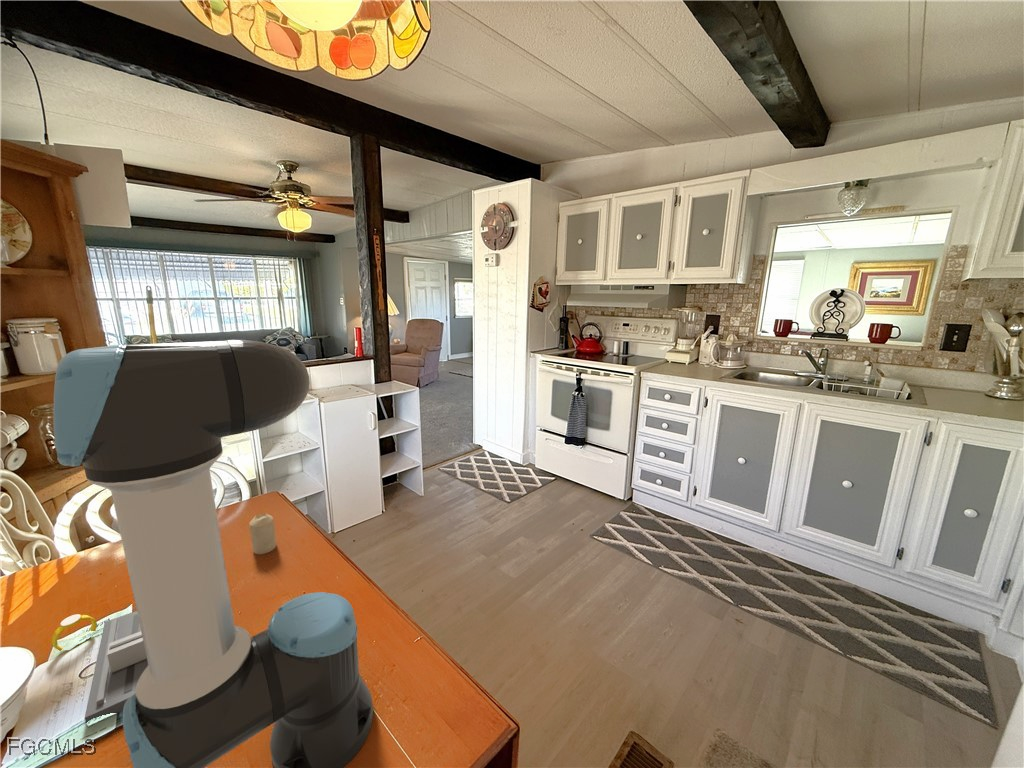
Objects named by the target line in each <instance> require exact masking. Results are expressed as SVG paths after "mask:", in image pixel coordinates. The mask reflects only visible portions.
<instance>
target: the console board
mask: <svg viewBox="0 0 1024 768" xmlns="http://www.w3.org/2000/svg"><path fill="white" fill-rule="evenodd" d="M140 631H141V628H140V623H139V618H138V614H137V610H135V611H132V612H129V613H126V614H124V615H123V614H122V615H120V616H118V617H116V618H115V617H114V618H112V619H109V620H107V621H104V624H103V629H102V633H101V637H100V644H99V647H98V653H97V657H96V662H95V667H94V671H93V676H92V681H91V685H90V691H89V695H88V699H87V700H88V701H87V704H86V709H85V714H84V721H85V724H86V723H87V722H88V721H89V720H91V719H93V718H96V717H99V716H102V715H106V714H110V713H117V714H119V713H123V708H124V704H125V702H126V701H127V700H128V699H129V698H130V697H131V696H133V695H134V694H135V693H136V685H137V683H138V680H139V678H140V676H141V674H142V673H143V672H144V670H145V669H146V668H147V666H148V660H147V659H144V660H142V661H139V662H137V663H135V664H132V665H130V666H127V667H125V668H122V669H120V670H118V671H115V672H113V673H111V669H110V665H109V661H108V657H107V653H108V647H109V643H111V642H114V641H117V640H119V639H122V638H125V637H127V636H130V635H132V634H135V633H138V632H140ZM118 712H119V713H118Z"/></svg>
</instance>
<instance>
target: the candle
mask: <svg viewBox="0 0 1024 768" xmlns="http://www.w3.org/2000/svg"><path fill="white" fill-rule="evenodd" d="M248 524H249V531H250V537H251V538H250V540H251V546H252V552H253V554H256V555H264V554H267V553H270V552H272V551H274V549H276V547H277V538H276V530H275V522H274V517H273V516H272V515H270V514H268V513H267V512H265V513H262V514H255V515H254V517H253V518H252V519H251V521H250V522H249V523H248Z"/></svg>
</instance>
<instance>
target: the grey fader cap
mask: <svg viewBox="0 0 1024 768" xmlns="http://www.w3.org/2000/svg"><path fill="white" fill-rule="evenodd" d="M107 657H108V661H109V665H110V669H111V673H113V672H115V671H118V670H120V669H122V668H125V667H127V666H130V665H132V664H135V663H137V662H139V661H142V660H144V659H147V656H146V651H145V646H144V642H143V637H142V632H141V631H140V632H138V633H135V634H132V635H130V636H127V637H125V638H122V639H119V640H117V641H114V642H111V643H109V647H108V653H107Z"/></svg>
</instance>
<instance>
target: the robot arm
mask: <svg viewBox="0 0 1024 768" xmlns="http://www.w3.org/2000/svg"><path fill="white" fill-rule="evenodd" d="M55 371H56V372H55V377H54V388H53V389H54V390H53V438H54V447H55V450H56V456H57V462H58V463H59V464H60V465H61V466H67V467H68V466H69V467H74V468H75V467H79V466H81V465H83V468H84V470H83V471H84V473H85V476H86V477H85V478H86V480H87V482H88V483H90V484H93V485H96V486H98V487H102V488H104V489H107V490H109V491H110V492H111V497H112V502H113V505H114V511H115V516H116V520H117V525H118V530H119V534H120V539H121V543H122V547H123V553H124V558H125V562H126V566H127V572H128V575H129V580H130V586H131V591H132V594H133V600H134V604H135V609H136V611H137V614H138V618H139V623H140V628H141V632H142V637H143V642H144V646H145V651H146V656H147V660H148V666H147V668H146V669H145V670H144V672H143V673H142V674H141V676H140V678H139V680H138V683H137V685H136V693H135V694H134V695H133V696H131V697H130V698H129V699H128V700H127V701H126V702H125V704H124V708H123V711H122V728H123V734H124V735H123V736H124V738H125V739H124V740H125V742H126V746H127V747H128V750H129V758H130V762H131V763H132V766H133V768H206V767H208V766H209V765H211V764H213V763H215V762H216V761H217V760H219V759H221V758H222V757H223V756H225V755H226V754H228V753H230V752H231V751H233V750H234V749H235V748H237V747H238V746H240V745H242V744H243V743H245V742H247V741H248V740H249V739H251V738H253V737H254V736H255V735H257V734H259V733H260V732H262V731H264V729H267V728H269V726H271V725H272V724H273V727H272V730H271V734H270V739H269V740H270V741H269V747H270V749H269V750H270V756H271V761H272V765H273V768H345V766H346V765H348V764H349V763H350V762H351V760H353V758H354V757H355V756H356V755H357V754H358V753H359V751H360V750H361V749H362V747H363V745H364V744H365V742H366V740H367V738H368V736H369V734H370V732H371V731H370V730H371V728H372V725H373V721H374V720H373V718H374V707H373V705H374V704H373V699H372V694H371V691H370V689H369V687H368V686H367V684H366V683H365V681H364V679H363V677H362V676H361V674H360V667H359V652H358V649H359V648H358V637H357V636H358V625H357V622H356V618H355V613H354V608H353V606H352V605H351V603H350V602H349V600H348V599H346V598H345V597H343V596H341V595H339V594H337V593H333V592H332V593H330V592H329V593H328V592H327V591H326V592H325V591H317V592H310V593H304V594H302V595H299V596H296V597H294V598H292V599H290V600H288V601H286V602H284V604H282V605H281V606H279V608H278V610H277V611H275V612H274V613H273V614H272V616H271V618H270V620H269V623H268V625H267V629H266V630H263V631H261V632H258V633H257V634H255V635H253V636H251V635H250V633H249V631H248V630H247V629H245V628H243V627H241V626H238V625H235V619H234V613H233V609H232V608H233V607H232V600H231V594H230V588H229V582H228V581H229V580H228V576H227V571H226V564H225V557H224V551H223V545H222V540H221V532H220V527H219V519H218V514H217V513H218V512H217V508H216V502H215V495H214V489H213V482H212V476H211V471H210V470H211V467H212V466H213V465H214V463H216V461H217V460H218V459H220V457H222V454H223V453H224V452H223V446H222V445H223V443H222V438H225V437H229V436H234V435H235V436H236V435H239V434H243V433H245V434H246V433H248V432H252V431H253V432H254V431H257V430H260V429H265V428H266V427H269V426H271V425H273V424H276V423H278V422H280V421H282V420H283V419H285V418H287V417H288V416H290V415H291V414H292V413H293V412H295V411H296V410H297V409H298V408H299V407H300V406H301V405H302V404H303V402H304V401H305V399H306V398H307V396H308V392H309V390H310V384H311V383H310V382H311V381H310V375H309V371H308V368H307V366H306V365H305V363H303V361H302V360H301V359H300V358H299V357H298V356H297V355H296V354H294V353H293V352H291V351H289V349H285V348H283V347H282V346H279V345H276V344H272V343H267V342H263V341H257V340H256V341H255V340H250V339H249V340H247V339H226V340H215V341H213V340H211V341H189V342H188V341H187V342H186V341H185V342H161V343H159V342H157V343H137V344H136V343H135V344H126V343H120V344H115V345H109V346H107V345H106V346H97V347H87V348H80V349H75V350H72V351H70V352H67V353H66V354H65V355H64V356H63V357H61V359H60V360H59V361H58V364H57V367H56V370H55Z"/></svg>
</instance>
